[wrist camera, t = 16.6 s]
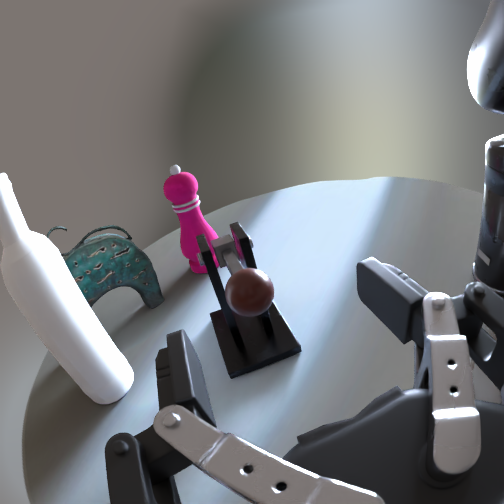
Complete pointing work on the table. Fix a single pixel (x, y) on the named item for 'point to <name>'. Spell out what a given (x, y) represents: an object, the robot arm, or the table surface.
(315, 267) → the table surface
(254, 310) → the press lever
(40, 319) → the bottle
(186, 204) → the pepper mill
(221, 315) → the lever bracket
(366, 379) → the table surface
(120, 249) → the ceramic cat
